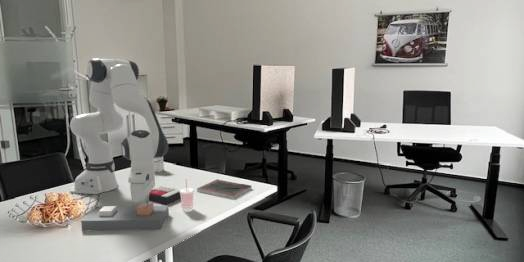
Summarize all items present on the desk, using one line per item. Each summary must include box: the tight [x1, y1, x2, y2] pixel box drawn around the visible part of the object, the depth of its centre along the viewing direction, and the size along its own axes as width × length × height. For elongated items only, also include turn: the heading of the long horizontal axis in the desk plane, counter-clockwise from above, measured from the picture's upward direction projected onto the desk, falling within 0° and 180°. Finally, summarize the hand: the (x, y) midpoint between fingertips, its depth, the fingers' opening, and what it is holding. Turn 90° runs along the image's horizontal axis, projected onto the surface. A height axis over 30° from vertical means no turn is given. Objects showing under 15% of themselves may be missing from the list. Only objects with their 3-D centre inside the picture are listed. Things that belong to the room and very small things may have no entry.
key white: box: [99, 205, 117, 216], centre depth 149 cm, size 5×5×4 cm
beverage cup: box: [178, 178, 195, 213], centre depth 161 cm, size 6×6×14 cm
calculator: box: [148, 186, 181, 206], centre depth 176 cm, size 11×4×15 cm
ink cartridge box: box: [153, 156, 165, 173], centre depth 219 cm, size 9×5×15 cm, turn 77°
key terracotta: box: [137, 202, 154, 216], centre depth 149 cm, size 5×5×4 cm
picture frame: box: [196, 179, 252, 200], centre depth 186 cm, size 16×2×22 cm
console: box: [80, 205, 170, 232], centre depth 149 cm, size 30×14×4 cm, turn 91°
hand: (145, 205), depth 149 cm, fingers closed
